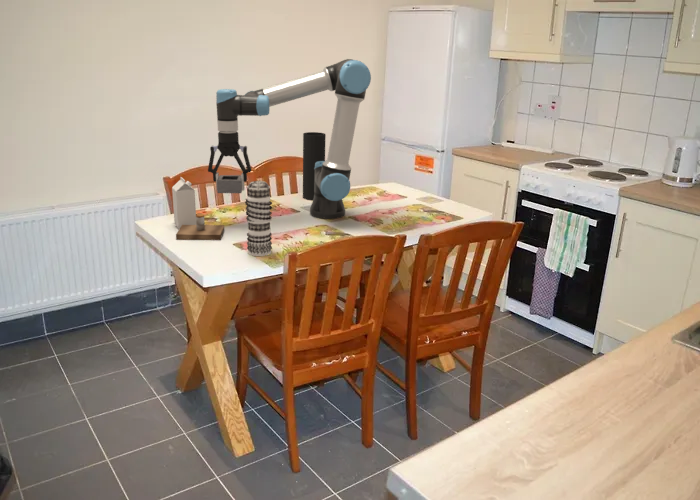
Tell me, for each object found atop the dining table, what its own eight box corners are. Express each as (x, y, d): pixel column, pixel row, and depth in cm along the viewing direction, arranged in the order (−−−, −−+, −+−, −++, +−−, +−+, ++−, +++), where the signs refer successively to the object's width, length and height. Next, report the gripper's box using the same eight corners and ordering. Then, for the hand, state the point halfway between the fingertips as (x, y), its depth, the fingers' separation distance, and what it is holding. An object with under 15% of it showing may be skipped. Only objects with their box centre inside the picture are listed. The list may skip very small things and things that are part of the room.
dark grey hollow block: (243, 187, 241) (242, 175, 240) (241, 193, 233) (240, 180, 231) (220, 187, 241) (219, 175, 239) (217, 193, 232) (216, 180, 231)
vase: (302, 194, 292) (302, 132, 282) (323, 194, 293) (324, 132, 283) (303, 200, 282) (303, 135, 272) (324, 200, 283) (326, 135, 273)
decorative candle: (241, 254, 211) (239, 183, 203) (254, 246, 219) (253, 178, 211) (264, 258, 208) (263, 186, 200) (277, 250, 216) (276, 181, 208)
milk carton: (178, 229, 235) (175, 181, 229) (174, 224, 241) (171, 177, 235) (196, 227, 238) (194, 179, 232) (192, 222, 244) (189, 175, 238)
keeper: (224, 230, 236) (223, 210, 233) (220, 240, 224) (219, 219, 222) (182, 229, 234) (181, 209, 232) (176, 239, 223) (174, 218, 221)
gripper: (257, 130, 233) (259, 187, 241) (200, 129, 232) (203, 187, 239) (256, 133, 226) (258, 192, 234) (197, 132, 225) (200, 191, 232)
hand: (230, 189), depth 237 cm, fingers closed on dark grey hollow block, 9 cm apart
